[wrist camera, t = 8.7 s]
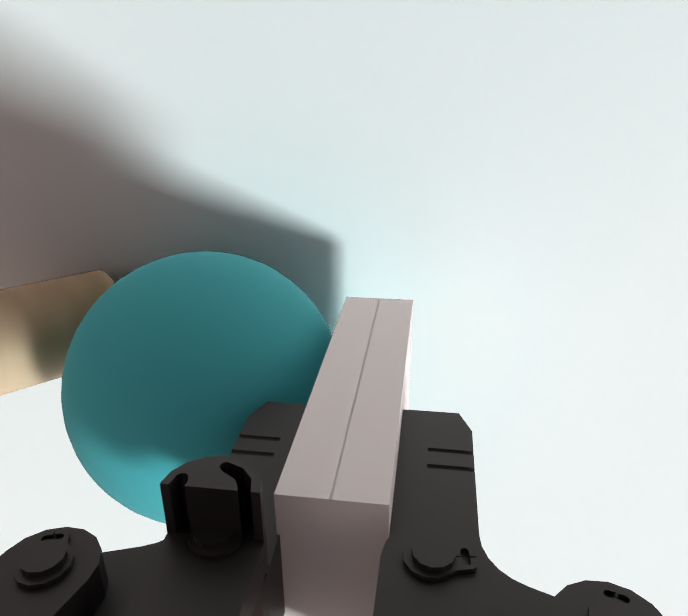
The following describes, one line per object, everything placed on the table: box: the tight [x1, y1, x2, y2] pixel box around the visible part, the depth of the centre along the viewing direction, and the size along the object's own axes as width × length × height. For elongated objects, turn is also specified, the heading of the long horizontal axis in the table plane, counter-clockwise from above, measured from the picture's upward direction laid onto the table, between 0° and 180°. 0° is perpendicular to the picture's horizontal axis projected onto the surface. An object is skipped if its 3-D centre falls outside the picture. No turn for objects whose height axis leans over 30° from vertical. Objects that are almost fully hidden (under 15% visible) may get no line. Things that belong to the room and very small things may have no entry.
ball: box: [61, 251, 332, 523], centre depth 14 cm, size 6×6×6 cm
